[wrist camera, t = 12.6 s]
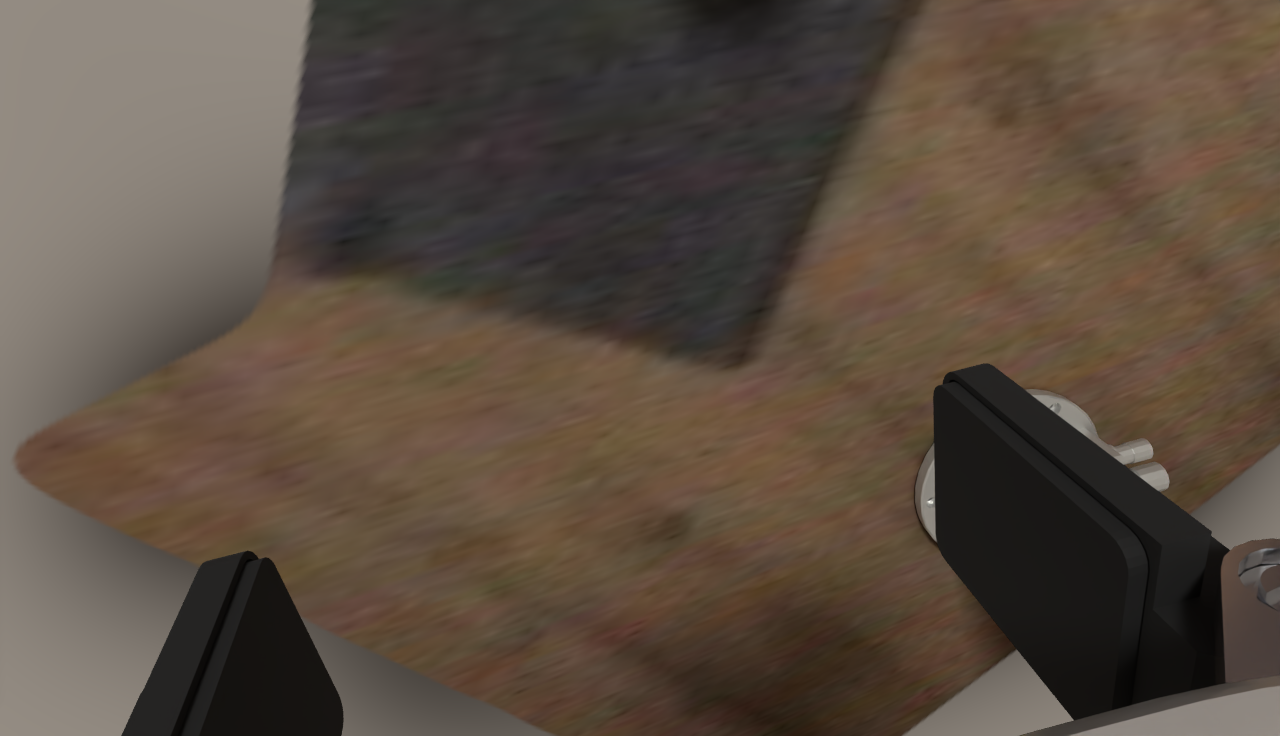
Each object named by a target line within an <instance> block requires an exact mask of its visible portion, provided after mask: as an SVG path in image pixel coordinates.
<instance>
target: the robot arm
mask: <svg viewBox="0 0 1280 736" xmlns="http://www.w3.org/2000/svg"><path fill="white" fill-rule="evenodd" d="M933 404H934V443H933V445H932V447H931V448H930V450H929V451H928V453H927V454H926V456H925V458H924V461H923V463H922V465H921V467H920V470H919V473H918V477H917V481H916V486H915V504H916V509H917V514H918V517H919V519H920V521H921V523H922V525H923V527H924V528H925V529H926V530H927V532H928V533H929V534H930V535H931V537H932V538H933V539H934V540H935V541H936V542H937V544H938V547H939V549H940V552H941V554H942V556H943V557H944V559H945V560H946V562H947V563H948V564H949V565H950V567H951V568H952V569H953V570H954V572H955V573H956V574H957V575H958V576H959V578H960V579H961V580H962V581H963V583H964V584H965V585H966V586H967V588H968V589H969V590H970V591H971V593H972V594H973V595H974V596H975V598H976V599H977V600H978V601H979V603H980V604H981V605H982V606H983V608H984V609H985V610H986V611H987V613H988V614H989V615H990V616H991V618H992V619H993V620H994V621H995V623H996V624H997V625H998V626H999V628H1000V629H1001V630H1002V631H1003V632H1004V634H1005V635H1006V636H1007V637H1008V639H1009V640H1010V641H1011V642H1012V644H1013V645H1014V646H1015V647H1016V649H1017V650H1018V651H1019V652H1020V654H1021V655H1022V656H1023V657H1024V659H1025V660H1026V661H1027V662H1028V664H1029V665H1030V666H1031V667H1032V669H1033V670H1034V671H1035V672H1036V674H1037V675H1038V676H1039V677H1040V679H1041V680H1042V681H1043V682H1044V683H1045V685H1046V686H1047V687H1048V688H1049V690H1050V691H1051V692H1052V693H1053V695H1055V697H1056V698H1057V700H1058V701H1059V702H1060V703H1061V705H1062V706H1063V707H1064V708H1065V710H1066V711H1067V712H1068V713H1069V714H1070V716H1071V717H1072V718H1073V719H1074V721H1071V722H1067V723H1064V724H1060V725H1056V726H1052V727H1049V728H1045V729H1041V730H1038V731H1034V732H1031V733H1027V734H1024V735H1020V736H1280V539H1274V538H1272V539H1262V540H1252V541H1248V542H1246V543H1243V544H1240V545H1238V546H1235V547H1234V548H1232V549H1231V550H1229V549H1228V548H1226V547H1225V546H1224V545H1222V544H1221V543H1220V542H1218V541H1217V540H1216V539H1215V538H1213V537H1212V536H1211V533H1212V532H1211V531H1210V530H1209V529H1207V528H1206V527H1205V526H1204V525H1202V524H1201V523H1200V522H1198V521H1197V520H1196V519H1195V518H1193V517H1192V516H1191V515H1189V514H1188V513H1187V512H1185V511H1184V510H1183V509H1181V508H1180V507H1179V506H1177V505H1176V504H1175V503H1173V502H1172V501H1171V500H1169V499H1168V498H1167V497H1165V496H1164V495H1163V494H1162V493H1160V491H1164V490H1165V489H1167V488H1168V486H1169V477H1168V474H1167V472H1166V470H1165V469H1164V468H1163V467H1162V466H1161V465H1160V464H1159V463H1156V462H1151V463H1148V464H1144V465H1140V466H1137V467H1133V468H1127V467H1126V466H1125V465H1124V464H1128V463H1130V464H1132V463H1136V462H1140V461H1143V460H1147V459H1150V458H1152V456H1153V448H1152V446H1151V444H1150V443H1149V442H1148V441H1147V440H1146V439H1143V438H1141V439H1138V440H1134V441H1130V442H1126V443H1123V444H1121V445H1119V446H1115V447H1113V446H1112V445H1109V444H1106V443H1105V442H1103V441H1102V440H1101V439H1099V438H1098V435H1097V431H1096V428H1095V425H1094V424H1093V422H1092V421H1091V419H1090V418H1089V416H1088V415H1087V414H1086V413H1085V412H1084V411H1083V410H1082V409H1081V408H1079V407H1078V406H1077V405H1076V404H1074V403H1073V402H1071V401H1070V400H1068V399H1067V398H1065V397H1064V396H1062V395H1059V394H1056V393H1053V392H1050V391H1045V390H1036V389H1028V390H1024V389H1023V388H1022V387H1020V386H1019V385H1018V384H1016V383H1015V382H1014V381H1012V380H1011V379H1010V378H1008V377H1007V376H1006V375H1004V374H1003V373H1002V372H1001V371H999V370H998V369H997V368H995V367H994V366H992V365H990V364H980V365H976V366H973V367H969V368H965V369H961V370H957V371H953V372H949V373H948V374H946V375H945V377H944V380H943V385H939V386H937V387H936V388H935V390H934V396H933ZM342 729H343V707H342V703H341V700H340V697H339V694H338V692H337V690H336V688H335V686H334V684H333V682H332V680H331V678H330V676H329V674H328V672H327V670H326V668H325V666H324V664H323V662H322V660H321V658H320V656H319V654H318V652H317V650H316V648H315V645H314V644H313V641H312V639H311V638H310V635H309V633H308V632H307V629H306V627H305V625H304V623H303V621H302V619H301V617H300V615H299V613H298V611H297V609H296V607H295V605H294V603H293V601H292V599H291V597H290V595H289V593H288V591H287V589H286V587H285V585H284V583H283V581H282V579H281V577H280V575H279V573H278V571H277V569H276V567H275V565H274V563H273V562H272V560H270V559H269V558H266V557H265V558H261V559H258V557H257V556H256V555H255V554H254V553H253V552H251V551H245V552H241V553H237V554H233V555H229V556H225V557H221V558H217V559H213V560H209V561H206V562H204V563H202V565H201V566H200V568H199V570H198V572H197V574H196V576H195V578H194V581H193V583H192V585H191V587H190V589H189V592H188V594H187V596H186V598H185V600H184V602H183V605H182V607H181V609H180V611H179V614H178V616H177V618H176V620H175V622H174V625H173V626H172V629H171V631H170V633H169V635H168V638H167V640H166V642H165V644H164V646H163V649H162V651H161V653H160V655H159V657H158V660H157V662H156V664H155V666H154V668H153V670H152V673H151V675H150V677H149V679H148V681H147V683H146V686H145V688H144V690H143V691H142V693H141V694H140V696H139V698H138V701H137V703H136V705H135V707H134V709H133V712H132V714H131V716H130V718H129V720H128V723H127V725H126V727H125V729H124V731H123V733H122V736H341V735H342Z"/></svg>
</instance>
